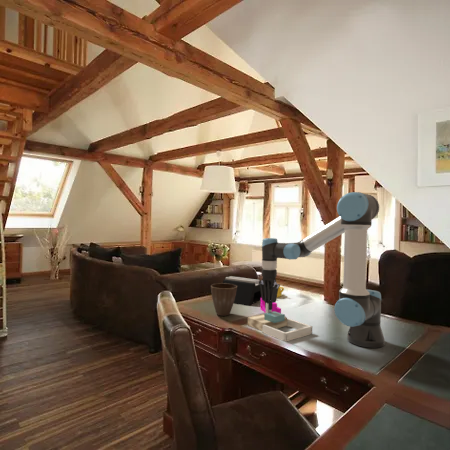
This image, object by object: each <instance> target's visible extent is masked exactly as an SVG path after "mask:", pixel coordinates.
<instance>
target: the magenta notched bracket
mask: <svg viewBox="0 0 450 450" xmlns="http://www.w3.org/2000/svg"><path fill="white" fill-rule="evenodd" d="M259 307H260V310H261V311H262V312H263V313H266V309H265V302H264V300H262V298H261V300H260V306H259ZM274 311H275V312H278V313H281V314H282V308H280V307H279V306H278V303H277V302H274V303H272V312H274Z"/></svg>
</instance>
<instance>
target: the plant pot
mask: <svg viewBox="0 0 450 450" xmlns="http://www.w3.org/2000/svg"><path fill="white" fill-rule="evenodd" d="M210 291H211V298H212V299H211V300H212V302H213V303H212V304H213V306H214V310H215V313H216V314H217V316H221V317H223V316H229V315H230V314H231V311H232V309H233V306H234V300H235V296H236V291H237V286H236V285H234V284H226V283H223V282H221V283H220V282H219V283H213V284H211V285H210Z"/></svg>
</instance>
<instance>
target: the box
mask: <svg viewBox="0 0 450 450" xmlns="http://www.w3.org/2000/svg"><path fill="white" fill-rule="evenodd" d="M286 327H289V328H291V329H293V330H290V331H286V332H285V331H282V330H280V329H279V328H277V329H275V328H272V327H270V326H267V325H263V328H262V331H261V332H262V333H263V334H266V335H268V336H271V337H272V338H273V337H274V338H275V339H278V340H280V341H282V342H285V343H286V342H289V341H292V340H296V339H300V338H303V337H305V336H309V335H312V334H313V326H312V325H310V324H308V323H307V324H306V323H303V322H301V321H297V320H294V319H291V318H287V326H286Z"/></svg>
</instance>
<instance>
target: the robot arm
mask: <svg viewBox="0 0 450 450" xmlns="http://www.w3.org/2000/svg"><path fill="white" fill-rule="evenodd" d="M336 211H337V214H338V217H336V218H334V219H333V220H331V221H329V222H328V223H327V224H325V225H323V226H322V227H319V229H317V230H315V231H313V232H312V233H311V234H310V235H307V236H306V237H304V238H302V239H301V240H299V241H298V242H278V239H277V238H275V237H273V238H272V237H271V238H270V237H266V238H265V237H264V238H263V239H262V242H261V243H262V245H261V256H262V257H261V277H262V278H261V279H260V281H259V285H260V289H261V296H262V300H264V302H265V309H266V313H269V312H272V303H274V302H275V303H277V302H276V301H277V293H278V288H279V287H281V284H280V283H277V279H276V278H277V275H278V270H277V268H278V259H283V260H284V259H285V260H298V259H299V258H306V257H308V256H310V255H311V253H312V252H314V251H315V250H317V249H319V248H320V247H322V246H324V245H326V244H327V243H329V242H331V241H332V240H334V239H336V238H338V237H339V236H341V235H342V234H344V243H343V244H344V247H343V277H342V278H343V281H342V283H343V284H342V285H343V286H342V288H340V289H339V291H338V294H339V295H338V300H337V301H336V303H335V304H334V314H335V317H336V319H338V321H339V323H341V324H343V325H344V326H347V327H349V329H348V332H347V335H346V336H347V341H348V342H349V343H351V344H352V345H353V344H354V345H355V346H358V347H363V348H369V349H370V348H371V349H372V348H373V349H376V348H377V349H378V348H383V347H384V346H385V341H386V340H385V336H384V333H383V331H382V330H383V329H382V328H381V327H382V326H381V322H382V321H381V317H382V314H381V312H382V294H381V292H380V291H378V290H372V289H368V288H367V287H366V286H367V254H368V253H367V252H368V249H367V248H368V230H369V229H370V228H371V227H372V223H373V222H372V221H373V220H374V219H375V218H376V217H377V216H378V214H379V212H380V203H379V200H378V199H377V198H375V196H373V195H371V194H369V193H363V192H360V191H352V192H348V193H345V194H344V195H342V196H341V197H340V199H339V200H338V202H337V205H336Z"/></svg>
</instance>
